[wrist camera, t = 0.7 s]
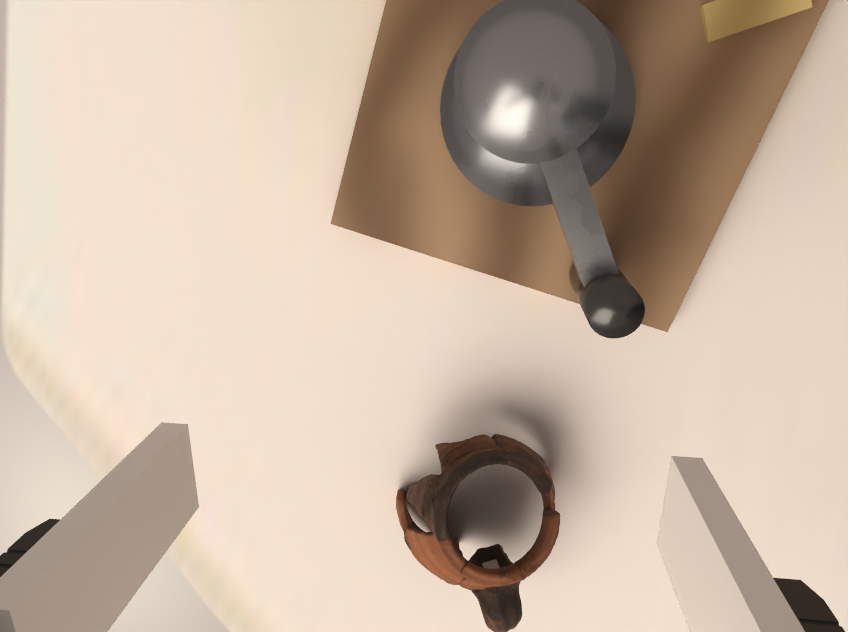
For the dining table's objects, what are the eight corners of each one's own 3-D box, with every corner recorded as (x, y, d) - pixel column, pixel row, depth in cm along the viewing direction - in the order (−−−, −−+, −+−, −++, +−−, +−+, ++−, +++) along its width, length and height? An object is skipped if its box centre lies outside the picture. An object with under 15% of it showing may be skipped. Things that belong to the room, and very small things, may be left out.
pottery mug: (365, 454, 39) (389, 479, 31) (493, 398, 41) (546, 407, 33) (433, 626, 39) (473, 694, 31) (555, 560, 42) (623, 607, 34)
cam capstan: (412, 56, 29) (393, 45, 23) (596, -31, 27) (626, -68, 21) (518, 322, 33) (524, 370, 27) (685, 263, 31) (731, 300, 25)
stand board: (842, -53, 27) (896, -77, 23) (661, 324, 34) (682, 350, 30) (427, -189, 27) (418, -234, 23) (327, 216, 33) (308, 230, 30)
